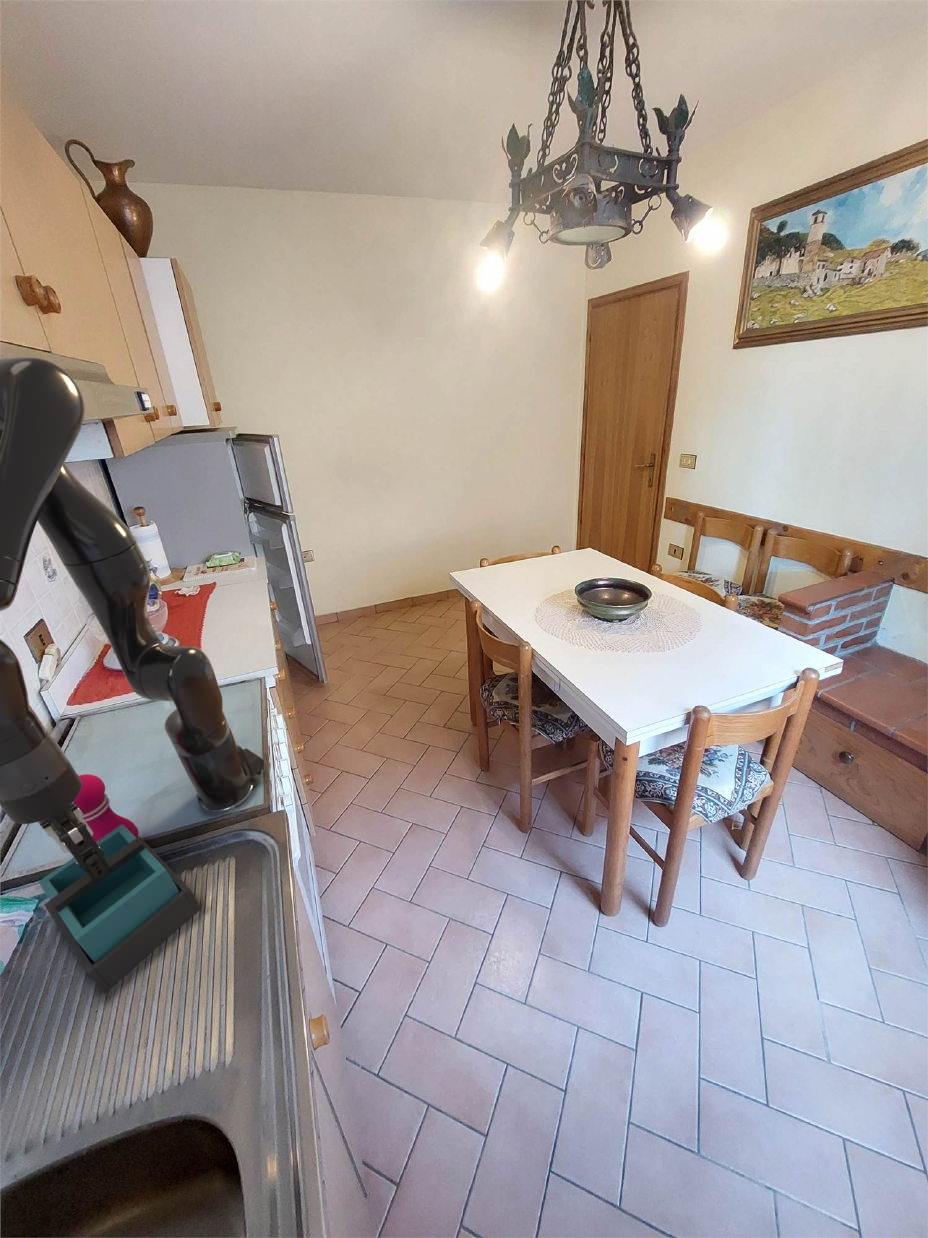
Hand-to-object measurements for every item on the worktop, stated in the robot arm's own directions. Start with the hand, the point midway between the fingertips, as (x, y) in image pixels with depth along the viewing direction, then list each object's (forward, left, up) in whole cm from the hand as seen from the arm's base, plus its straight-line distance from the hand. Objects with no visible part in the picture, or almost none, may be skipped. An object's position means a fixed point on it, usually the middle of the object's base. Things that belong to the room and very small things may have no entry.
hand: (89, 859), depth 68 cm
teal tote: (0, 0, -14) cm, 14 cm away
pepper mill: (-4, -13, -15) cm, 20 cm away
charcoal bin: (0, 0, -15) cm, 15 cm away
